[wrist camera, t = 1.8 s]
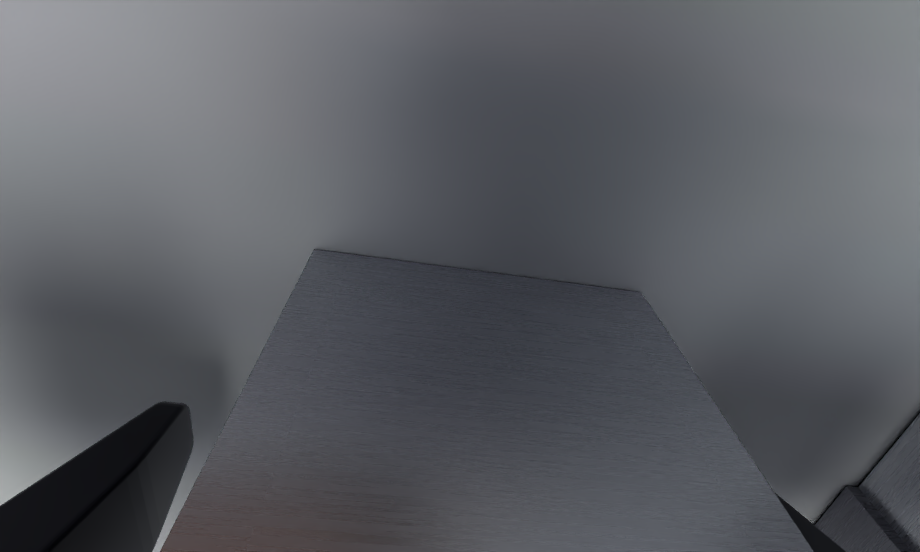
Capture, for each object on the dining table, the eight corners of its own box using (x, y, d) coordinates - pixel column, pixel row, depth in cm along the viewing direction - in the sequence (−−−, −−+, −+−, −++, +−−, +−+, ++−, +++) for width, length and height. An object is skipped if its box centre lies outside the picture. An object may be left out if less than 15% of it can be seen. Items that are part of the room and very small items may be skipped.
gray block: (558, 499, 11) (656, 929, 6) (308, 478, 11) (181, 933, 6) (640, 292, 9) (941, 742, 3) (313, 249, 8) (76, 715, 3)
